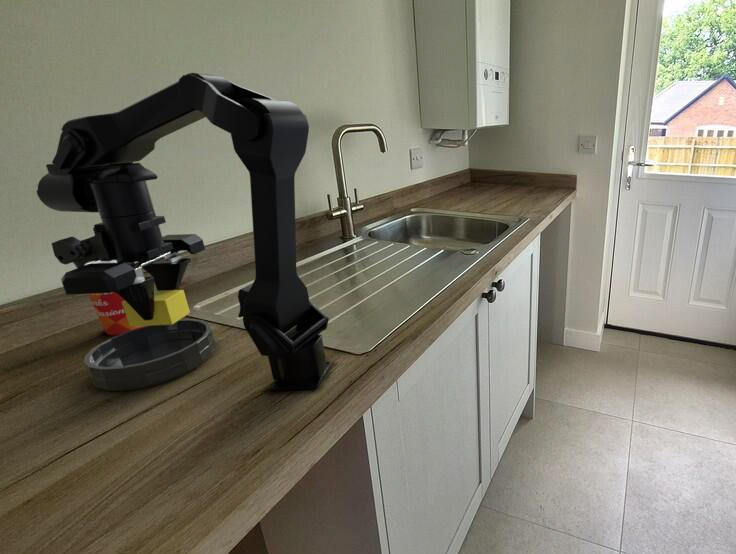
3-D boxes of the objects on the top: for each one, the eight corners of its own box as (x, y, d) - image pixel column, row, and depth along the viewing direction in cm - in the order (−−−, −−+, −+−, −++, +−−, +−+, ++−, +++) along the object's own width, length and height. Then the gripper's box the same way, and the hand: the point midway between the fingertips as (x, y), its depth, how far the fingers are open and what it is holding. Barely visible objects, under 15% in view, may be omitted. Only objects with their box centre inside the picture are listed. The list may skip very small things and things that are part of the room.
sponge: (190, 312, 65) (183, 289, 64) (172, 324, 61) (164, 300, 60) (150, 314, 64) (142, 291, 63) (129, 326, 61) (121, 302, 59)
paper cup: (88, 334, 75) (61, 262, 71) (137, 315, 82) (114, 249, 77) (115, 341, 72) (88, 267, 68) (162, 321, 79) (141, 253, 75)
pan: (234, 337, 73) (229, 317, 72) (175, 390, 59) (167, 366, 58) (145, 340, 72) (139, 320, 71) (63, 395, 58) (52, 371, 57)
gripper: (122, 201, 66) (150, 291, 71) (-9, 232, 48) (41, 348, 53) (194, 200, 67) (217, 288, 71) (92, 229, 49) (132, 343, 54)
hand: (159, 313), depth 62 cm, fingers closed on sponge, 4 cm apart
